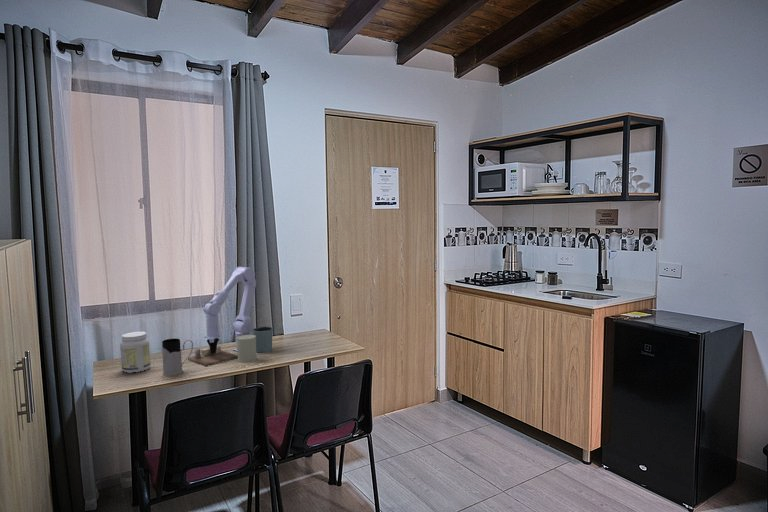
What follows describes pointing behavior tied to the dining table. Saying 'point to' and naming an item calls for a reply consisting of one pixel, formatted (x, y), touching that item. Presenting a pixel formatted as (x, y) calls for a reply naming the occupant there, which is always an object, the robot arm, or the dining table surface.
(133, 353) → the supplement tub
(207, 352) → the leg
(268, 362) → the dining table surface
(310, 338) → the dining table surface
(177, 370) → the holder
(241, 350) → the can
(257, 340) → the teal cylindrical container
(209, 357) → the frame board
